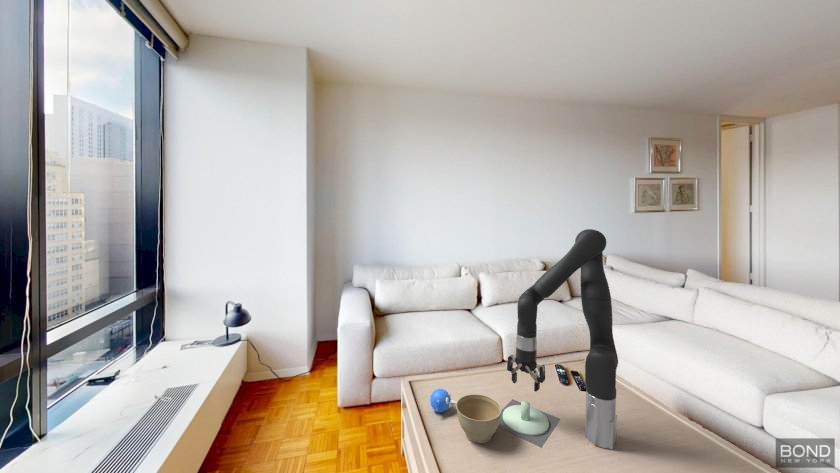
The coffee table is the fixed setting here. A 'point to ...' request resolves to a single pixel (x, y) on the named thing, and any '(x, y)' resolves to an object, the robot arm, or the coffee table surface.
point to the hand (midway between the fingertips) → (525, 386)
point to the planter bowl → (478, 416)
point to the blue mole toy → (441, 400)
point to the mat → (535, 440)
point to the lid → (525, 419)
